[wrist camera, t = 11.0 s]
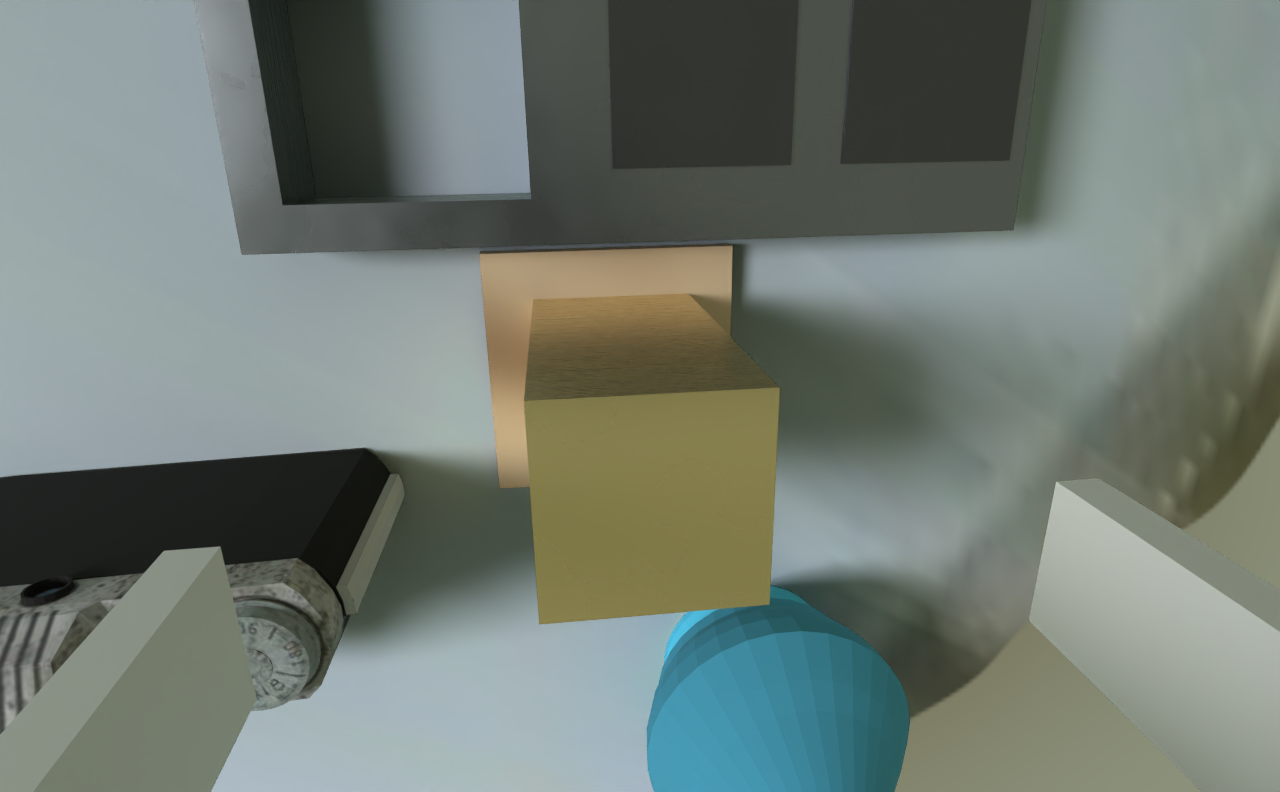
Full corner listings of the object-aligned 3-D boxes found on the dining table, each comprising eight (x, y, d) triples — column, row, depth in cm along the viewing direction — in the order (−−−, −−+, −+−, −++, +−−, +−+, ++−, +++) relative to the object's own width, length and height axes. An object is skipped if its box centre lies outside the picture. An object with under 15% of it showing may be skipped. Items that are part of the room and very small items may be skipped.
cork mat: (480, 251, 23) (479, 253, 23) (728, 243, 24) (732, 245, 24) (500, 481, 26) (499, 488, 25) (723, 466, 27) (727, 473, 26)
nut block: (533, 299, 23) (523, 400, 14) (688, 293, 24) (780, 387, 14) (542, 445, 25) (539, 624, 16) (686, 436, 25) (769, 604, 16)
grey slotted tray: (221, -102, 20) (164, -146, 17) (997, -88, 22) (1066, -124, 19) (280, 241, 22) (240, 255, 20) (960, 220, 25) (1015, 230, 22)
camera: (-8, 650, 26) (-328, 941, 16) (-76, 474, 24) (-493, 692, 14) (424, 605, 27) (360, 847, 18) (397, 436, 25) (308, 609, 16)
